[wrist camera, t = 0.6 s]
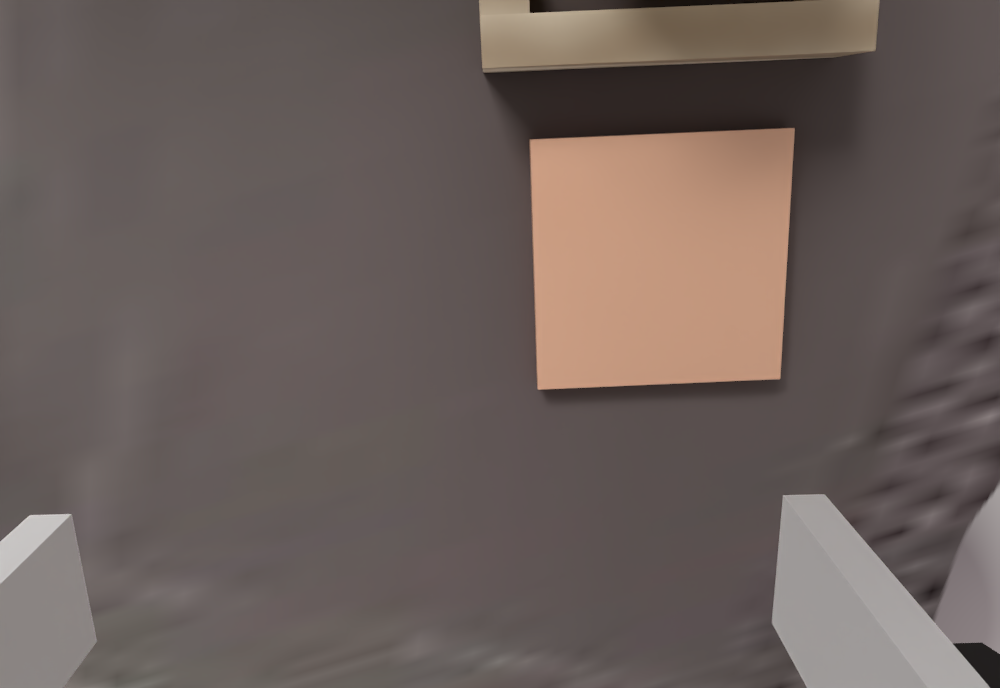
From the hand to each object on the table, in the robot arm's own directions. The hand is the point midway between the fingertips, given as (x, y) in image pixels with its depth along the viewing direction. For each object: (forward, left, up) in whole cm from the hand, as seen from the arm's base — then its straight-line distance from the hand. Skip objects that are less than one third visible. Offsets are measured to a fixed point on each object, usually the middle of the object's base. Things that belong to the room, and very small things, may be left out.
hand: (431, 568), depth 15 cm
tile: (-1, +9, -25) cm, 27 cm away
